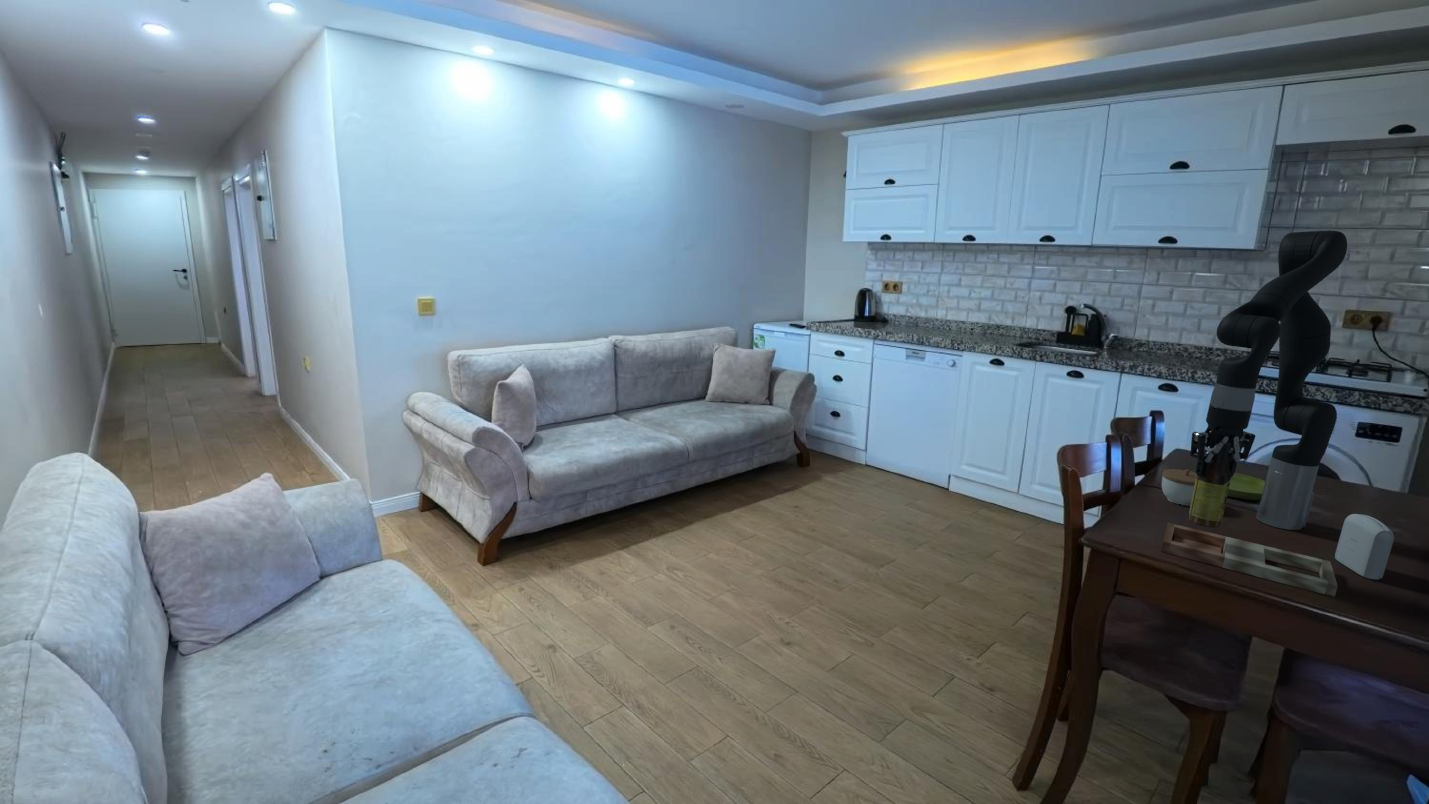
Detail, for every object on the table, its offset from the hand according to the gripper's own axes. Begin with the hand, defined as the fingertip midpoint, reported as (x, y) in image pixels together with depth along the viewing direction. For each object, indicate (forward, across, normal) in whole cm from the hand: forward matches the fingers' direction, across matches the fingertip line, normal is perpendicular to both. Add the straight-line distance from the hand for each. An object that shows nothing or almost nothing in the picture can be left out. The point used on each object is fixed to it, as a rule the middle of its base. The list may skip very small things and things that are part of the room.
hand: (1214, 476), depth 149 cm
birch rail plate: (+18, -6, +6) cm, 20 cm away
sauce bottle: (+12, 0, 0) cm, 12 cm away
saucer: (+19, -45, -36) cm, 61 cm away
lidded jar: (+19, -21, -28) cm, 40 cm away
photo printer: (+19, -30, +11) cm, 37 cm away
